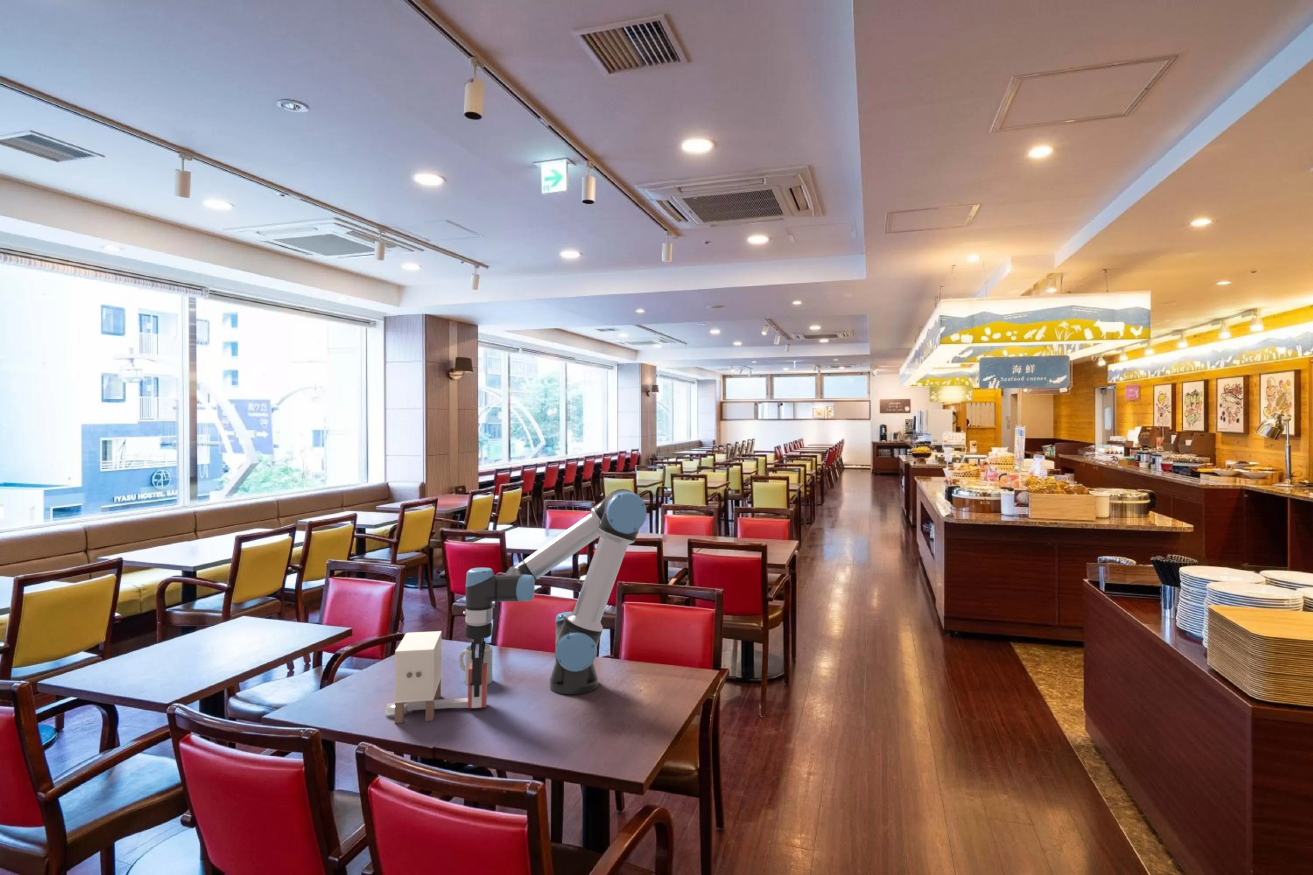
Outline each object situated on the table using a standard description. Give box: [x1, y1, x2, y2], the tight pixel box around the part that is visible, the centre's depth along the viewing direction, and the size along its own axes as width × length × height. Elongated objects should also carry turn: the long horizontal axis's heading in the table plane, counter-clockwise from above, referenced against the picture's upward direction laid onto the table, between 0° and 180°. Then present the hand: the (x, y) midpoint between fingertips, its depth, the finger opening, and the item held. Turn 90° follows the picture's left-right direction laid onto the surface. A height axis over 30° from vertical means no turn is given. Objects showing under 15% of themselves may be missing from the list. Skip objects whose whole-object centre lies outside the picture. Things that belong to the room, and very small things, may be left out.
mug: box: [458, 643, 493, 687], centre depth 213 cm, size 12×8×11 cm
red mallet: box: [407, 663, 488, 711], centre depth 190 cm, size 22×5×11 cm, turn 101°
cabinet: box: [394, 630, 442, 724], centre depth 190 cm, size 10×19×20 cm, turn 11°
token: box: [384, 701, 409, 719], centre depth 187 cm, size 6×6×2 cm
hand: (477, 702), depth 192 cm, fingers closed on red mallet, 5 cm apart
